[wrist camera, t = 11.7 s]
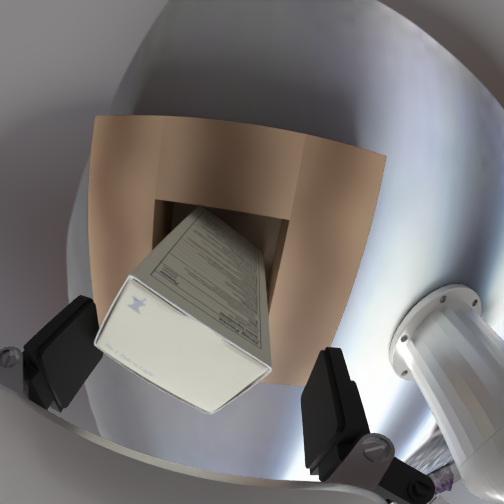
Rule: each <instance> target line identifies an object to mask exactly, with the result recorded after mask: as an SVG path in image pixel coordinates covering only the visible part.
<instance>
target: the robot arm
mask: <svg viewBox="0 0 504 504" xmlns="http://www.w3.org/2000/svg"><path fill="white" fill-rule="evenodd" d="M481 313H482V311H481V302H480V299H479V297H478V295H477V294H476V293H475V292H474V291H473V290H472V289H471V288H469V287H468V286H466V285H463V284H450V285H447V286H444V287H441V288H439V289H437V290H435V291H433V292H431V293H430V294H429V295H427V296H426V297H424V298H423V299H422V300H421V301H420V302H419V303H418V304H416V305H415V306H414V307H413V308H412V310H411V311H410V312H409V313H408V314H407V315H406V316H405V318H404V319H403V321H402V322H401V324H400V325H399V327H398V329H397V331H396V332H395V334H394V336H393V339H392V342H391V345H390V351H389V358H390V363H391V366H392V368H393V369H394V371H395V373H396V374H397V375H398V376H399V377H400V378H402V379H405V380H410V381H416V382H417V384H418V386H419V388H420V390H421V392H422V394H423V395H424V397H425V399H426V401H427V403H428V405H429V407H430V409H431V411H432V413H433V415H434V417H435V419H436V421H437V423H438V425H439V428H440V430H441V432H442V434H443V436H444V438H445V440H446V443H447V445H448V447H449V449H450V452H451V454H452V456H453V459H454V461H455V463H456V466H457V468H458V471H459V473H460V475H461V478H462V480H463V482H464V484H465V486H466V487H467V489H468V490H469V491H470V492H471V493H473V494H474V495H476V496H478V497H479V498H482V499H484V500H487V501H490V502H494V503H497V504H504V341H503V340H502V338H501V337H500V336H499V335H498V334H497V333H496V332H495V331H494V330H493V329H492V328H491V327H490V326H489V325H488V324H487V323H486V322H485V321H484V320H483V319H482V318H481ZM98 330H99V322H98V316H97V309H96V304H95V303H94V302H93V300H92V299H91V298H88V297H85V296H82V295H80V296H78V297H77V298H76V299H75V300H73V301H72V302H71V303H70V304H69V305H68V306H67V307H65V308H64V309H63V310H62V311H61V312H60V313H59V314H57V315H56V316H55V317H54V318H53V319H52V320H51V321H50V322H49V323H47V324H46V325H45V326H44V327H43V328H42V329H41V330H40V331H39V332H38V333H37V334H36V335H35V336H34V337H33V338H32V339H30V340H29V341H28V342H27V343H26V344H25V345H24V351H23V352H21V350H20V349H19V348H17V347H14V346H8V347H4V348H2V349H1V350H0V504H449V503H448V502H447V501H446V500H445V499H444V498H443V497H442V496H441V495H439V496H436V495H435V484H434V482H433V481H432V479H431V478H430V477H428V476H427V475H425V474H423V473H421V472H420V471H418V470H416V469H414V468H413V467H411V466H409V465H407V464H406V463H404V462H402V461H401V460H399V459H397V458H396V457H394V455H395V448H394V445H393V443H392V442H391V441H390V439H389V438H387V437H386V436H384V435H381V434H378V433H371V434H370V430H369V426H368V423H367V419H366V416H365V412H364V408H363V405H362V402H361V398H360V395H359V391H358V388H357V385H356V383H355V382H354V381H351V380H350V376H349V373H348V370H347V366H346V363H345V360H344V357H343V353H342V350H341V349H340V348H333V347H326V348H325V350H321V351H320V352H319V355H318V357H317V360H316V362H315V365H314V367H313V369H312V372H311V374H310V377H309V379H308V381H307V384H306V386H305V388H304V390H303V393H302V396H301V410H302V422H303V436H304V451H305V466H306V468H310V475H319V480H320V481H321V482H311V481H290V480H273V479H262V478H253V477H244V476H236V475H230V474H223V473H217V472H212V471H207V470H202V469H197V468H193V467H188V466H184V465H180V464H176V463H172V462H169V461H165V460H162V459H158V458H155V457H152V456H149V455H146V454H143V453H140V452H137V451H134V450H131V449H128V448H126V447H123V446H120V445H118V444H115V443H113V442H110V441H108V440H105V439H103V438H101V437H98V436H96V435H94V434H92V433H90V432H87V431H85V430H83V429H81V428H79V427H77V426H75V425H73V424H71V423H69V422H67V421H65V420H64V419H62V418H60V417H58V416H56V415H55V414H53V413H51V412H49V411H48V408H49V406H51V408H53V409H55V410H57V411H58V412H61V411H62V410H63V408H66V407H68V405H69V404H70V402H71V401H72V399H73V398H74V396H75V395H76V393H77V392H78V391H79V389H80V388H81V386H82V385H83V383H84V382H85V381H86V379H87V378H88V376H89V375H90V374H91V372H92V371H93V369H94V368H95V367H96V365H97V364H98V362H99V361H100V360H101V358H102V356H103V352H102V351H101V350H100V349H98V348H97V347H96V346H95V345H94V340H95V338H96V335H97V333H98Z"/></svg>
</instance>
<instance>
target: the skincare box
mask: <svg viewBox="0 0 504 504" xmlns="http://www.w3.org/2000/svg"><path fill="white" fill-rule="evenodd" d="M94 345H95V346H96V347H97V348H98V349H100V350H101V351H102V352H104V353H105V354H106V355H108V356H109V357H110V358H112V359H113V360H114V361H116V362H117V363H119V364H120V365H122V366H123V367H125V368H126V369H128V370H129V371H131V372H132V373H134V374H135V375H137V376H138V377H140V378H142V379H143V380H145V381H146V382H148V383H150V384H152V385H153V386H155V387H157V388H158V389H160V390H161V391H164V392H165V393H167V394H169V395H171V396H173V397H174V398H176V399H178V400H180V401H182V402H184V403H186V404H188V405H190V406H192V407H194V408H196V409H198V410H200V411H202V412H204V413H206V414H214V413H215V412H217V411H218V410H220V409H221V408H223V407H224V406H226V405H227V404H229V403H230V402H232V401H233V400H234V399H236V398H237V397H239V396H240V395H241V394H243V393H244V392H246V391H247V390H248V389H250V388H251V387H252V386H254V385H255V384H256V383H257V382H259V381H260V380H262V379H263V378H264V377H265V376H267V375H268V374H269V373H270V372H271V371H272V360H271V347H270V333H269V319H268V305H267V292H266V279H265V267H264V255H263V253H262V252H261V251H260V250H259V249H258V248H256V247H255V246H254V245H253V244H251V243H250V242H249V241H248V240H246V239H245V238H244V237H243V236H241V235H240V234H239V233H238V232H236V231H235V230H234V229H232V228H231V227H230V226H229V225H227V224H226V223H225V222H223V221H222V220H221V219H220V218H218V217H217V216H216V215H214V214H213V213H211V212H210V211H209V210H207V209H206V208H205V207H203V206H201V205H199V206H198V207H197V208H196V209H195V210H194V211H192V212H191V213H190V214H189V215H188V216H187V217H186V218H185V219H184V220H183V221H182V222H181V223H180V224H179V225H178V226H177V227H176V228H175V229H174V230H173V231H172V232H171V233H170V234H168V235H167V236H166V237H165V238H164V239H163V240H162V241H161V242H160V243H159V244H158V245H157V246H156V247H155V248H154V249H153V250H152V251H151V252H150V253H149V254H148V256H147V257H146V258H145V259H144V260H143V261H142V262H141V263H140V264H139V265H138V266H137V267H136V268H135V269H134V270H133V271H132V272H131V273H130V274H129V275H128V277H127V279H126V281H125V282H124V284H123V286H122V287H121V289H120V290H119V292H118V294H117V296H116V297H115V299H114V301H113V302H112V304H111V306H110V308H109V310H108V312H107V314H106V316H105V318H104V320H103V322H102V324H101V326H100V328H99V330H98V333H97V335H96V338H95V340H94Z"/></svg>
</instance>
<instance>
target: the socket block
mask: <svg viewBox="0 0 504 504" xmlns="http://www.w3.org/2000/svg"><path fill="white" fill-rule="evenodd" d="M385 162H386V156H385V155H382V154H379V153H375V152H372V151H369V150H366V149H362V148H359V147H355V146H352V145H348V144H344V143H341V142H337V141H333V140H329V139H325V138H321V137H317V136H312V135H308V134H303V133H298V132H293V131H288V130H283V129H278V128H272V127H267V126H260V125H254V124H247V123H240V122H233V121H224V120H215V119H205V118H194V117H179V116H157V115H110V116H96V117H95V124H94V131H93V139H92V148H91V158H90V172H89V193H88V234H89V255H90V269H91V279H92V289H93V297H94V303H95V304H96V309H97V316H98V322H99V328H100V326H101V324H102V322H103V320H104V318H105V316H106V314H107V312H108V310H109V308H110V306H111V304H112V302H113V301H114V299H115V297H116V296H117V294H118V292H119V290H120V289H121V287H122V286H123V284H124V282H125V281H126V279H127V277H128V275H129V274H130V273H131V272H132V271H133V270H134V269H135V268H136V267H137V266H138V265H139V264H140V263H141V262H142V261H143V260H144V259H145V258H146V257H147V256H148V254H149V253H150V252H151V251H152V250H153V249H154V248H155V247H156V246H157V245H158V244H159V243H160V242H161V241H162V240H163V239H164V238H165V237H166V236H167V235H168V234H170V233H171V232H172V231H173V230H174V229H175V228H176V227H177V226H178V225H179V224H180V223H181V222H182V221H183V220H184V219H185V218H186V217H187V216H188V215H189V214H190V213H191V212H192V211H194V210H195V209H196V208H197V207H198V206H199V205H201V206H203V207H205V208H206V209H207V210H209V211H210V212H211V213H213V214H214V215H216V216H217V217H218V218H220V219H221V220H222V221H223V222H225V223H226V224H227V225H229V226H230V227H231V228H232V229H234V230H235V231H236V232H238V233H239V234H240V235H241V236H243V237H244V238H245V239H246V240H248V241H249V242H250V243H251V244H253V245H254V246H255V247H256V248H258V249H259V250H260V251H261V252H262V253H263V255H264V267H265V279H266V292H267V305H268V319H269V333H270V347H271V360H272V371H271V372H270V373H269V374H268V375H267V376H265V377H264V378H263V379H262V380H260V381H259V382H263V383H272V384H282V385H294V386H306V384H307V381H308V379H309V377H310V374H311V372H312V369H313V367H314V365H315V362H316V360H317V357H318V355H319V352H320V351H321V350H325V348H326V347H330V346H331V344H332V341H333V339H334V336H335V334H336V331H337V329H338V326H339V323H340V321H341V318H342V315H343V313H344V310H345V307H346V304H347V302H348V299H349V296H350V293H351V290H352V287H353V284H354V281H355V278H356V275H357V272H358V269H359V265H360V262H361V259H362V256H363V252H364V249H365V245H366V242H367V238H368V235H369V231H370V227H371V224H372V220H373V216H374V212H375V208H376V204H377V199H378V195H379V191H380V186H381V181H382V177H383V172H384V167H385Z"/></svg>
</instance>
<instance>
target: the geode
mask: <svg viewBox="0 0 504 504" xmlns="http://www.w3.org/2000/svg"><path fill="white" fill-rule="evenodd" d="M453 476H454V474H453V473H452V472H451V468H450V465H449V464H447V465H445V466H443V467H441V468H439V469H437V470H435V471H434V472H432V473H431V474H429V475H428V477H430V478H431V479H432V481H433V482H434V484H435V495H436V494H437V493H441V492H444V491H446V490H448V491H450V490H451V488H452V484H453Z"/></svg>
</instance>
